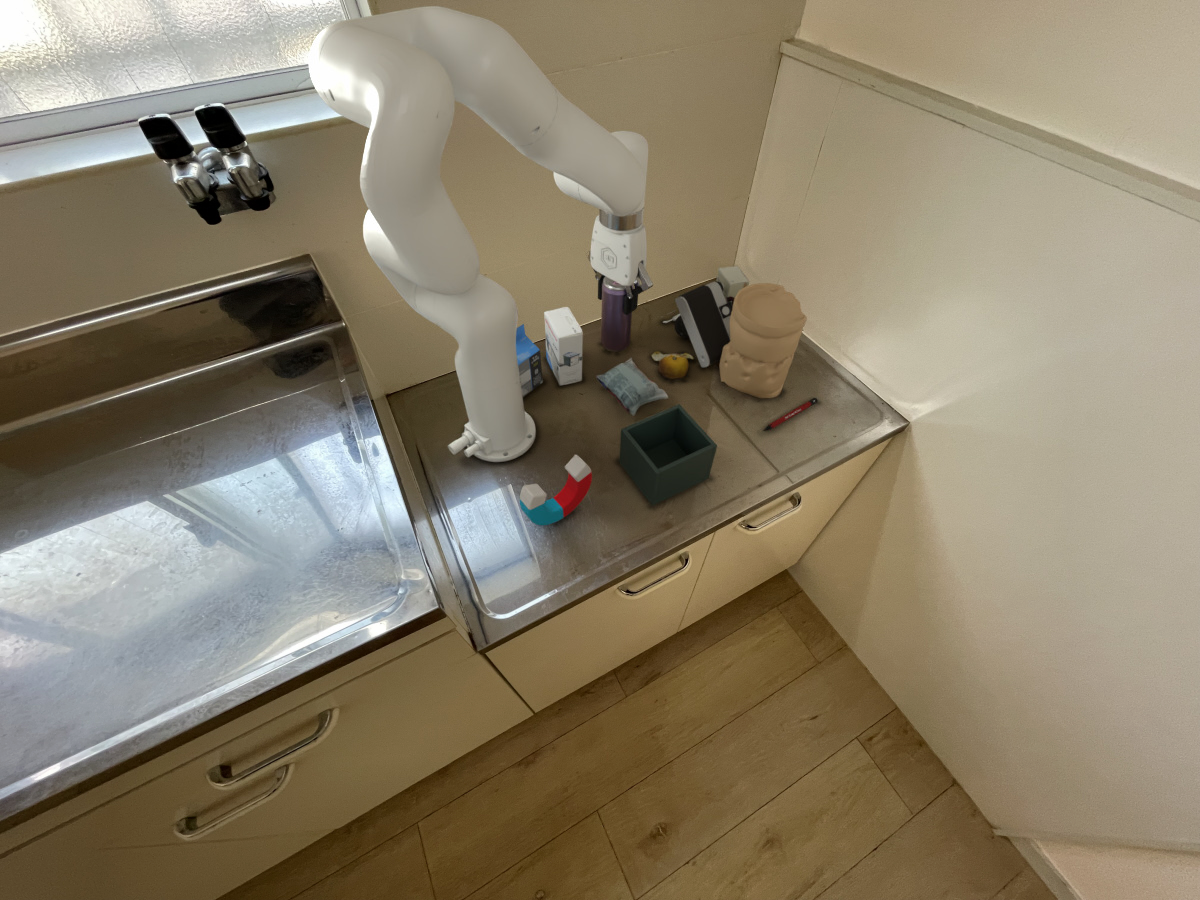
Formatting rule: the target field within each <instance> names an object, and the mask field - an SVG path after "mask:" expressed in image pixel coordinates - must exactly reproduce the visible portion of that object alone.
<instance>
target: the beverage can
mask: <svg viewBox="0 0 1200 900" xmlns="http://www.w3.org/2000/svg"><path fill="white" fill-rule="evenodd" d="M634 288H635V287H634V284H632V289H634ZM626 295H627V292H626V288H625V286H623V285H621V284H619V283H617V282H615V281H614V280H612V279H610V278H608V277H606V276H605V277H604V279H603V284H602V300H601V313H600V314H601V315H600V317H601V318H600V319H601V321H600V322H601V323H600V344H601V346H602V347H603V348H604V349H605V350H606V351H609V352H612V353H619V352H620V353H621V352H623V351H625V350H626V349H628V347H629V346H630V344H631V331H632V318H633V311H632V312H631V313H629V314H628V315H625V314H624V298H625V296H626Z"/></svg>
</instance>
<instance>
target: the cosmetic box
mask: <svg viewBox="0 0 1200 900" xmlns="http://www.w3.org/2000/svg"><path fill="white" fill-rule="evenodd" d="M715 281H718V282H720V283H722V284H723V285H724V290H723V295H724V297H725V300H726V302H727V299H726V297H730V296H731V297H734V298H735V297H736V295H737V293H738V292H739V291H740V290H741V289H742V288H744V287H746V286H749V285H750V280H749V279H748V277H747V275H746V274H745V273H744V272H743V271H742V269H741V268H740V267H739V265H735V266H734V265H731V266H726V267H725V266H723V267H719V268H717V275H716V280H715ZM727 303H728V302H727Z"/></svg>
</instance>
